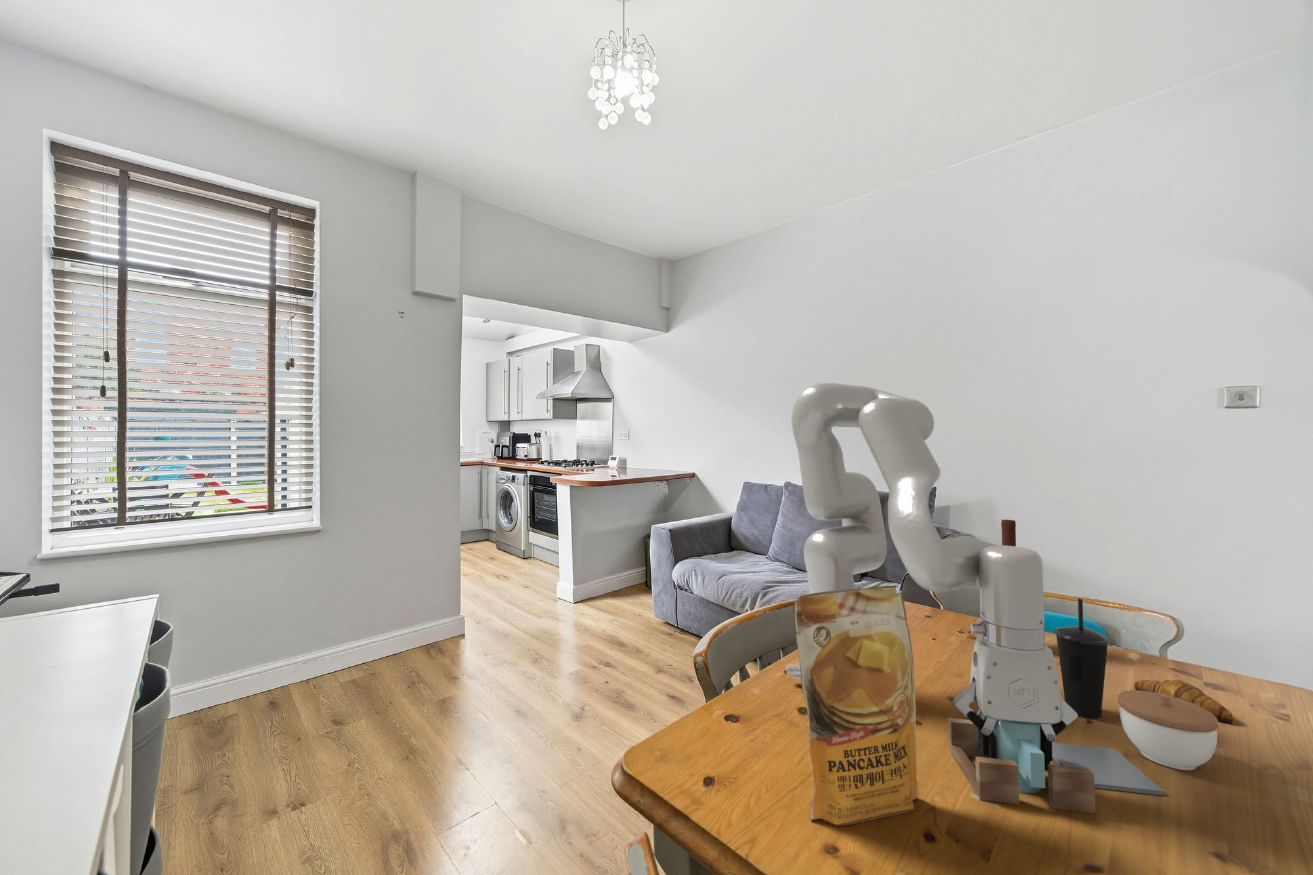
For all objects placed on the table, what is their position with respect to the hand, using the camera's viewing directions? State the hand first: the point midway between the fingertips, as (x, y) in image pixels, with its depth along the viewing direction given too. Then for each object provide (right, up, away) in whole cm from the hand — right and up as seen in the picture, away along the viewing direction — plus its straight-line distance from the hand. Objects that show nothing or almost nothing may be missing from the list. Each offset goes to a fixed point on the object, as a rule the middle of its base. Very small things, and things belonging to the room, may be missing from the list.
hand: (1014, 760), depth 72 cm
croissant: (+45, -3, +20) cm, 49 cm away
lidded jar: (+26, -3, +5) cm, 27 cm away
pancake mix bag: (-24, -3, -5) cm, 25 cm away
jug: (0, -3, -2) cm, 3 cm away
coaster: (+14, -3, +2) cm, 14 cm away
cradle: (0, -3, 0) cm, 3 cm away
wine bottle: (+33, -4, +48) cm, 59 cm away
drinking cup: (+25, -3, +18) cm, 31 cm away
